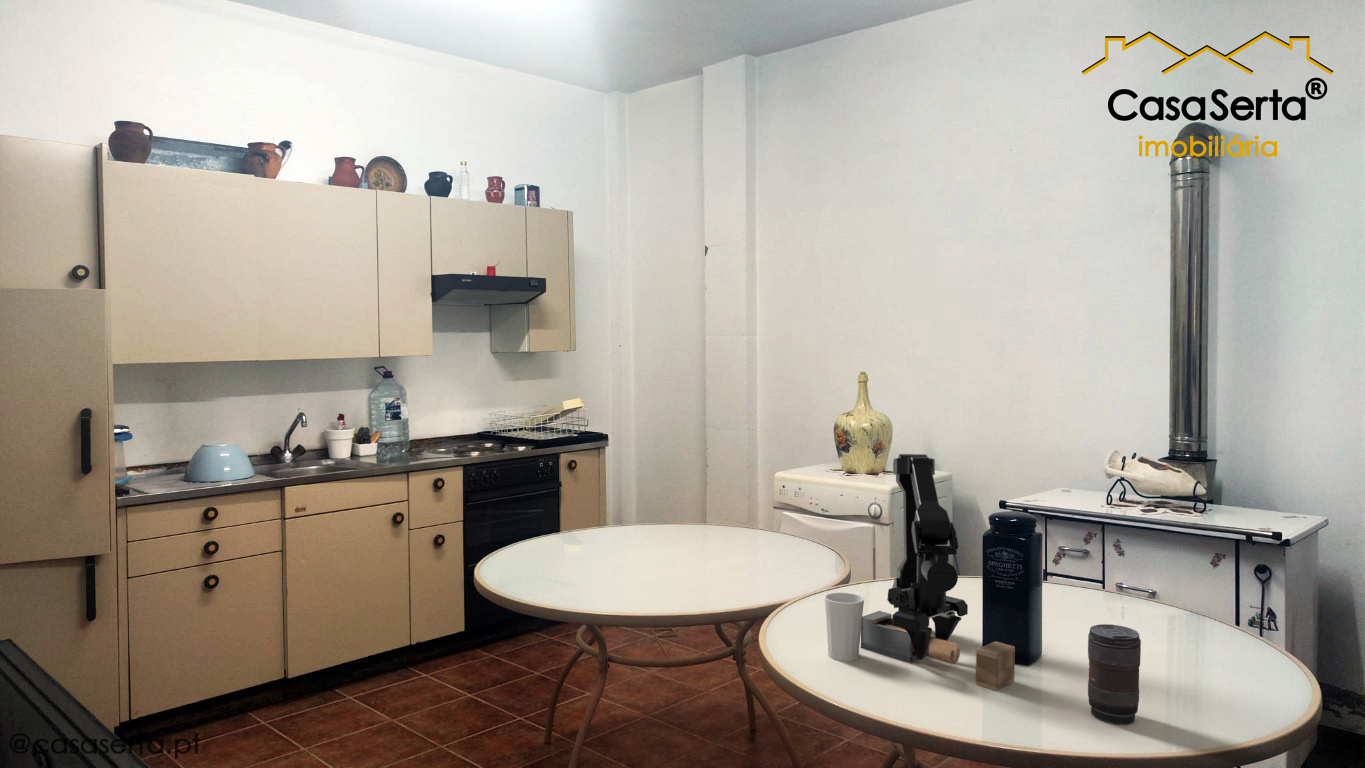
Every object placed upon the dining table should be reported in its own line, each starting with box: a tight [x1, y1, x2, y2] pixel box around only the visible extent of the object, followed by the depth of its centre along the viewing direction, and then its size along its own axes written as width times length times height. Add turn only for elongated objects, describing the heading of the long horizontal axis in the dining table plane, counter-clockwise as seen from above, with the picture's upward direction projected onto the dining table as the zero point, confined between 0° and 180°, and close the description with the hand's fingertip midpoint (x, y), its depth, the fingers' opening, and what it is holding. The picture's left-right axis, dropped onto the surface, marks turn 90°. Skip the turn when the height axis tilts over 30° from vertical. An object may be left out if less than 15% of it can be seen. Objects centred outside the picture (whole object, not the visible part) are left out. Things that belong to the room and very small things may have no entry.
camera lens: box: [1087, 623, 1142, 725], centre depth 150 cm, size 8×8×15 cm
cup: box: [824, 592, 865, 662], centre depth 179 cm, size 8×8×12 cm
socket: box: [975, 640, 1016, 691], centre depth 165 cm, size 7×4×7 cm, turn 132°
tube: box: [876, 622, 961, 665], centre depth 178 cm, size 19×4×4 cm, turn 42°
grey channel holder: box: [860, 610, 927, 664], centre depth 181 cm, size 12×7×7 cm, turn 42°
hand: (929, 655), depth 175 cm, fingers open, 7 cm apart
